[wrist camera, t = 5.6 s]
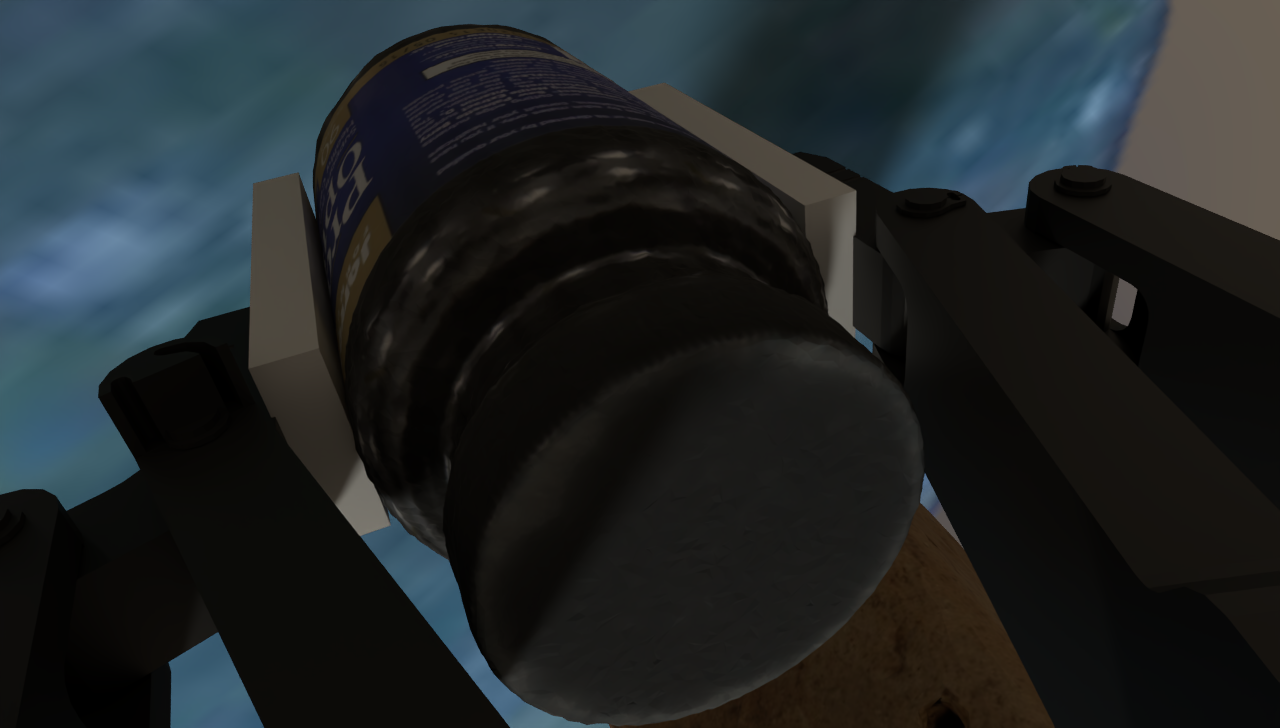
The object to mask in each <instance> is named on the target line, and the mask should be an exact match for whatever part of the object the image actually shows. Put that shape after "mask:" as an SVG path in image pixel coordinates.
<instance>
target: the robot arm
mask: <svg viewBox="0 0 1280 728" xmlns="http://www.w3.org/2000/svg"><path fill="white" fill-rule="evenodd" d="M629 93H631V94H632V95H634V96H635V97H637V98H638V99H640V100H642V101H643V102H645V103H646V104H648V105H649V106H651V107H652V108H653V109H655V110H656V111H658V112H659V113H661V114H662V115H664V116H665V117H667V118H668V119H670V120H671V121H673V122H674V123H676V124H677V125H679V126H680V127H682V128H683V129H685V130H687V131H689V132H690V133H691V134H692V135H694V136H695V137H697V138H698V139H700V140H702V141H703V142H705V143H706V144H708V145H709V146H710V147H712V148H714V149H715V150H717V151H718V152H720V153H721V154H723V155H725V156H726V157H728V158H730V159H732V160H734V161H736V162H738V163H739V164H741V165H742V166H744V167H745V168H747V169H749V170H750V171H751V172H752V173H753V175H754V176H755V177H756V178H757V179H758V180H759V181H760V182H762V183H763V184H764V185H766V186H767V187H769V188H770V189H771V190H772V192H773V193H774V194H775V195H776V196H778V197H779V198H780V200H781V201H782V203H783V204H784V205H785V206H786V207H787V209H788V210H789V211H790V212H791V214H792V216H793V217H794V219H795V221H796V223H797V224H798V225H799V227H800V228H801V230H802V231H803V233H804V234H805V236H806V238H807V240H808V241H809V242H810V243H811V247H812V250H813V255H814V257H815V259H816V260H817V262H818V264H819V268H820V273H821V276H822V278H823V281H824V283H825V287H824V289H825V296H826V300H827V303H828V314H829V316H830V317H832V318H833V319H834V320H836V321H837V322H838V323H840V324H841V325H842V326H843V327H844V328H845V329H846V330H847V331H848V332H849V333H850V334H851V335H852V336H853V337H854V338H855V328H856V329H857V330H858V331H860V332H861V333H862V334H863V335H865V336H866V337H867V338H868V339H870V340H871V341H872V342H873V353H872V354H873V355H874V356H876V357H877V358H878V359H880V360H881V361H882V362H883V363H884V364H885V366H886V367H887V368H888V369H889V370H890V371H891V372H892V373H893V374H894V376H895V377H896V378H897V379H898V380H899V381H900V383H901V384H902V386H903V388H904V389H905V391H906V392H907V393H908V395H909V397H910V399H911V401H912V403H913V406H914V409H915V411H916V414H917V417H918V420H919V423H920V428H921V432H922V436H923V440H924V444H923V447H924V451H925V453H924V462H925V468H924V472H925V474H926V476H927V478H928V480H929V481H930V483H931V485H932V487H933V489H934V491H935V493H936V495H937V497H938V499H939V501H940V503H941V505H942V507H943V509H944V511H945V512H946V515H947V517H948V519H949V521H950V522H951V525H952V527H953V529H954V530H955V532H956V534H957V536H958V538H959V540H960V542H961V544H962V546H963V548H964V550H965V552H966V554H967V556H968V558H969V560H970V562H971V564H972V566H973V568H974V570H975V572H976V574H977V576H978V577H979V579H980V581H981V583H982V585H983V587H984V589H985V591H986V593H987V595H988V597H989V599H990V601H991V603H992V605H993V607H994V609H995V611H996V613H997V615H998V617H999V619H1000V621H1001V623H1002V625H1003V626H1004V628H1005V630H1006V632H1007V634H1008V636H1009V638H1010V640H1011V642H1012V644H1013V646H1014V648H1015V650H1016V652H1017V654H1018V656H1019V658H1020V660H1021V662H1022V664H1023V666H1024V668H1025V670H1026V672H1027V674H1028V675H1029V677H1030V679H1031V681H1032V683H1033V685H1034V687H1035V689H1036V691H1037V693H1038V695H1039V697H1040V699H1041V701H1042V703H1043V705H1044V707H1045V709H1046V711H1047V713H1048V715H1049V717H1050V719H1051V721H1052V722H1053V724H1054V726H1055V728H1280V240H1277V239H1275V238H1272V237H1270V236H1268V235H1265V234H1263V233H1260V232H1258V231H1255V230H1253V229H1251V228H1248V227H1246V226H1244V225H1242V224H1239V223H1237V222H1234V221H1232V220H1229V219H1227V218H1225V217H1223V216H1220V215H1218V214H1215V213H1213V212H1211V211H1208V210H1206V209H1204V208H1201V207H1199V206H1197V205H1194V204H1192V203H1189V202H1187V201H1185V200H1182V199H1180V198H1177V197H1175V196H1173V195H1170V194H1168V193H1165V192H1163V191H1161V190H1158V189H1156V188H1154V187H1151V186H1149V185H1147V184H1144V183H1142V182H1140V181H1137V180H1135V179H1132V178H1130V177H1128V176H1125V175H1123V174H1119V173H1116V172H1113V171H1109V170H1104V169H1097V168H1093V167H1092V166H1088V165H1078V167H1076V165H1073V166H1064V167H1063V168H1061V169H1055V170H1049V171H1046V172H1044V173H1041V174H1039V175H1036V176H1035V177H1034V178H1033V179H1032V180H1031V181H1030V182H1029V187H1028V195H1027V203H1026V208H1022V209H1015V210H1007V211H999V212H991V213H986V212H985V211H984V210H983V209H982V208H981V207H980V206H979V205H978V204H977V203H976V202H975V201H974V200H973V199H971V198H969V197H968V196H966V195H964V194H963V193H960V192H958V191H952V190H948V189H938V188H917V189H908V190H904V191H899V192H895V193H893V192H891V191H889V190H887V189H885V188H883V187H881V186H880V185H878V184H876V183H874V182H872V181H870V180H868V179H866V178H865V177H862V178H861V177H860V175H859V174H857V173H855V172H853V171H851V170H850V169H847V170H846V169H845V167H844V166H842V165H840V164H838V163H836V162H835V161H833V160H831V159H829V158H827V157H822V156H818V155H813V154H808V153H803V152H798V153H794V154H790V153H789V152H787V151H785V150H783V149H782V148H780V147H778V146H776V145H774V144H773V143H771V142H769V141H767V140H766V139H764V138H762V137H760V136H758V135H757V134H755V133H753V132H751V131H750V130H748V129H746V128H744V127H742V126H741V125H739V124H737V123H735V122H734V121H732V120H730V119H728V118H726V117H725V116H723V115H721V114H719V113H718V112H716V111H714V110H712V109H710V108H709V107H707V106H705V105H703V104H702V103H700V102H698V101H696V100H694V99H693V98H691V97H689V96H687V95H686V94H684V93H682V92H680V91H678V90H677V89H675V88H673V87H671V86H670V85H668V84H666V83H662V84H657V85H653V86H649V87H645V88H641V89H637V90H633V91H629ZM1119 278H1121V279H1123V280H1125V281H1126V282H1128V283H1130V284H1132V285H1133V286H1134V287H1135V288H1137V289H1138V290H1137V295H1136V299H1135V304H1134V309H1133V313H1132V318H1131V320H1130V323H1129V325H1128V326H1125V325H1122V324H1120V323H1119V322H1117V321H1115V320H1114V319H1112V312H1113V308H1114V302H1115V298H1116V293H1117V288H1118V283H1119ZM98 398H99V399H100V401H101V403H102V404H103V406H104V408H105V409H106V411H107V413H108V414H109V416H110V418H111V419H112V421H113V423H114V424H115V426H116V428H117V429H118V431H119V433H120V434H121V436H122V438H123V439H124V441H125V443H126V444H127V446H128V448H129V449H130V451H131V453H132V454H133V456H134V458H135V460H136V462H137V464H138V466H139V468H140V470H139V471H138V472H136V473H135V474H134V475H132V476H131V477H129V478H128V479H127V480H125V481H124V482H122V483H120V484H118V485H117V486H115V487H113V488H111V489H110V490H108V491H106V492H104V493H102V494H100V495H98V496H96V497H94V498H92V499H90V500H88V501H86V502H84V503H82V504H80V505H78V506H76V507H74V508H72V509H70V510H67V511H66V510H65V509H64V507H63V506H62V504H61V503H60V501H59V500H58V499H57V497H56V496H55V495H53V494H51V493H49V492H47V491H45V490H43V489H22V490H18V491H14V492H9V493H5V494H1V495H0V728H170V717H171V670H170V666H169V663H168V662H169V661H171V660H172V659H174V658H176V657H177V656H179V655H181V654H182V653H184V652H186V651H187V650H189V649H191V648H192V647H194V646H196V645H197V644H199V643H201V642H202V641H204V640H205V639H207V638H209V637H210V636H212V635H214V634H215V633H217V632H219V634H220V636H221V639H222V641H223V643H224V645H225V647H226V649H227V651H228V653H229V655H230V657H231V659H232V661H233V664H234V666H235V668H236V670H237V672H238V674H239V676H240V678H241V680H242V682H243V684H244V686H245V689H246V691H247V693H248V695H249V697H250V699H251V701H252V703H253V705H254V707H255V709H256V711H257V714H258V716H259V718H260V720H261V722H262V724H263V726H264V728H510V727H509V726H508V724H507V723H506V722H505V720H504V719H503V718H502V717H501V715H500V714H499V713H498V711H497V710H496V709H495V708H494V706H493V705H492V704H491V703H490V701H489V700H488V699H487V697H486V696H485V695H484V694H483V692H482V691H481V690H480V689H479V687H478V686H477V685H476V683H475V682H474V681H473V680H472V678H471V677H470V676H469V675H468V673H467V672H466V671H465V669H464V668H463V667H462V666H461V664H460V663H459V662H458V660H457V659H456V658H455V657H454V655H453V654H452V653H451V652H450V650H449V649H448V648H447V646H446V645H445V644H444V643H443V641H442V640H441V639H440V638H439V636H438V635H437V634H436V632H435V631H434V630H433V629H432V627H431V626H430V625H429V624H428V622H427V621H426V620H425V618H424V617H423V616H422V615H421V613H420V612H419V611H418V610H417V608H416V607H415V606H414V604H413V603H412V602H411V601H410V599H409V598H408V597H407V595H406V594H405V593H404V592H403V590H402V589H401V588H400V587H399V585H398V584H397V583H396V581H395V580H394V579H393V578H392V576H391V575H390V574H389V573H388V571H387V570H386V569H385V567H384V566H383V565H382V564H381V562H380V561H379V560H378V559H377V557H376V556H375V555H374V553H373V552H372V551H371V550H370V548H369V547H368V546H367V544H366V543H365V542H364V541H363V539H362V538H361V537H360V536H361V535H364V534H367V533H370V532H373V531H376V530H379V529H381V528H384V527H387V526H390V520H389V514H388V509H387V507H386V506H384V505H383V504H382V502H381V499H380V497H379V495H378V493H377V491H376V489H375V487H374V484H373V483H372V482H371V481H370V480H369V479H368V477H367V475H366V471H365V468H364V464H363V462H362V460H361V459H360V457H359V455H358V453H357V451H356V449H355V441H354V436H353V431H352V427H351V423H350V420H349V414H348V407H347V404H346V402H345V398H346V392H345V386H344V380H343V374H342V370H341V363H340V357H339V351H338V345H337V339H336V333H335V327H334V322H333V317H332V310H331V303H330V297H329V291H328V285H327V279H326V274H325V269H324V261H323V254H322V248H321V242H320V236H319V231H318V226H317V221H316V219H315V216H314V213H313V210H312V208H311V205H310V202H309V200H308V197H307V194H306V192H305V189H304V186H303V183H302V181H301V178H300V175H299V173H294V174H290V175H286V176H282V177H278V178H274V179H270V180H266V181H262V182H258V183H253V214H252V252H251V291H250V307H247V308H243V309H240V310H236V311H233V312H229V313H225V314H222V315H218V316H215V317H211V318H207V319H204V320H200V321H198V322H197V324H196V325H195V326H194V327H193V328H192V329H191V331H190V332H189V333H188V334H187V335H186V336H185V337H184V338H180V339H175V340H172V341H168V342H165V343H162V344H159V345H156V346H153V347H150V348H148V349H146V350H144V351H142V352H140V353H138V354H136V355H134V356H132V357H130V358H128V359H127V360H125V361H124V362H123V363H121V364H120V365H119V366H117V367H116V368H114V369H113V370H112V371H110V372H109V373H108V375H107V376H106V377H105V379H104V380H103V381H102V382H101V384H100V385H99V394H98Z"/></svg>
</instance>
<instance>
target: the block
mask: <svg viewBox="0 0 1280 728" xmlns="http://www.w3.org/2000/svg"><path fill="white" fill-rule="evenodd" d="M609 726H610V728H1055V726H1054V724H1053V722H1052V721H1051V719H1050V717H1049V715H1048V713H1047V711H1046V709H1045V707H1044V705H1043V703H1042V701H1041V699H1040V697H1039V695H1038V693H1037V691H1036V689H1035V687H1034V685H1033V683H1032V681H1031V679H1030V677H1029V675H1028V674H1027V672H1026V670H1025V668H1024V666H1023V664H1022V662H1021V660H1020V658H1019V656H1018V654H1017V652H1016V650H1015V648H1014V646H1013V644H1012V642H1011V640H1010V638H1009V636H1008V634H1007V632H1006V630H1005V628H1004V626H1003V625H1002V623H1001V621H1000V619H999V617H998V615H997V613H996V611H995V609H994V607H993V605H992V603H991V601H990V599H989V597H988V595H987V593H986V591H985V589H984V587H983V585H982V583H981V581H980V579H979V577H978V576H977V574H976V572H975V570H974V568H973V566H972V564H971V562H970V560H969V558H968V556H967V554H966V552H965V550H964V549H963V548H962V547H961V545H960V544H959V543H958V542H957V541H956V540H955V539H954V538H953V537H952V536H951V535H950V533H949V532H948V531H947V530H946V529H945V528H944V527H943V526H942V525H941V524H940V523H939V522H938V521H937V520H936V518H935V517H934V516H933V515H932V514H931V513H930V512H929V511H928V510H927V509H926V508H925V507H924V506H923V505H922V504H921V503H920V505H919V506H918V508H917V510H916V512H915V514H914V516H913V519H912V523H911V526H910V529H909V532H908V535H907V537H906V539H905V541H904V543H903V546H902V548H901V550H900V552H899V554H898V555H897V557H896V558H895V560H894V562H893V564H892V566H891V567H890V569H889V570H888V572H887V573H886V574H885V576H884V577H883V578H882V580H881V581H880V583H879V584H878V586H877V587H876V589H875V591H874V592H873V593H872V595H871V596H870V597H869V598H868V599H867V600H866V601H865V602H864V604H863V605H862V606H861V607H860V608H859V609H858V610H857V611H856V612H855V613H854V614H853V616H852V617H851V618H850V619H849V621H848V622H847V623H846V624H845V625H844V626H842V627H841V628H840V629H839V630H838V631H837V632H836V633H835V634H834V635H833V636H832V637H831V638H829V639H828V640H827V641H826V642H825V643H824V644H822V645H821V646H820V647H819V648H817V649H816V650H815V651H813V652H812V653H811V654H809V655H808V656H807V657H806V658H804V659H803V660H802V661H800V662H799V663H798V664H797V665H795V666H793V667H792V668H790V669H789V670H787V671H786V672H784V673H783V674H781V675H780V676H778V677H777V678H775V679H773V680H771V681H769V682H767V683H766V684H764V685H762V686H760V687H759V688H757V689H755V690H753V691H751V692H749V693H746V694H744V695H743V696H741V697H740V698H737V699H734V700H731V701H729V702H727V703H725V704H723V705H721V706H719V707H716V708H714V709H707V710H705V711H702V712H700V713H696V714H691V715H688V716H686V717H683V718H680V719H677V720H669V721H664V722H660V723H653V724H644V725H639V726H635V725H623V726H615V725H611V724H609Z"/></svg>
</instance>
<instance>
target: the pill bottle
mask: <svg viewBox="0 0 1280 728" xmlns="http://www.w3.org/2000/svg"><path fill="white" fill-rule="evenodd" d="M313 192H314V202H315V212H316V221H317V226H318V231H319V236H320V242H321V248H322V254H323V261H324V269H325V274H326V279H327V285H328V291H329V297H330V303H331V310H332V317H333V322H334V327H335V333H336V339H337V345H338V351H339V357H340V363H341V370H342V374H343V380H344V386H345V392H346V398H345V402H346V404H347V407H348V414H349V420H350V423H351V427H352V431H353V436H354V441H355V449H356V451H357V453H358V455H359V457H360V459H361V460H362V462H363V464H364V468H365V471H366V475H367V477H368V479H369V480H370V481H371V482H372V483H373V484H374V487H375V489H376V491H377V493H378V495H379V497H380V499H381V502H382V504H383V505H384V506H386V507H387V509H388V510H389V512H390V513H391V515H392V516H394V517H395V518H397V520H398V521H399V522H400V523H401V524H402V526H403V527H404V528H405V530H406V531H407V532H408V533H409V534H410V535H413V536H415V537H416V538H417V539H418V540H419V541H420V542H421V543H423V544H425V545H426V546H428V547H429V548H431V549H432V550H433V551H435V552H436V553H438V554H440V555H441V556H443V557H444V558H446V559H448V560H449V562H450V565H451V567H452V570H453V573H454V576H455V578H456V581H457V583H458V586H459V589H460V593H461V597H462V602H463V605H464V609H465V612H466V616H467V620H468V623H469V627H470V630H471V632H472V634H473V637H474V639H475V641H476V643H477V646H478V648H479V650H480V652H481V654H482V655H483V656H484V658H485V659H486V661H487V663H488V665H489V667H490V669H491V670H492V672H493V673H494V675H495V676H496V677H497V678H498V679H499V680H500V681H501V682H502V683H503V684H504V685H505V686H506V687H507V688H508V689H509V690H510V691H511V692H513V693H515V694H516V695H517V696H518V697H520V698H521V699H522V700H523V701H524V702H526V703H528V704H530V705H532V706H534V707H536V708H538V709H540V710H542V711H544V712H547V713H549V714H551V715H553V716H559V717H563V718H565V719H566V720H568V721H573V722H580V723H583V724H586V725H590V724H595V723H608V724H611V725H615V726H623V725H635V726H639V725H644V724H653V723H660V722H664V721H669V720H677V719H680V718H683V717H686V716H688V715H691V714H696V713H700V712H702V711H705V710H707V709H714V708H716V707H719V706H721V705H723V704H725V703H727V702H729V701H731V700H734V699H737V698H740V697H741V696H743V695H744V694H746V693H749V692H751V691H753V690H755V689H757V688H759V687H760V686H762V685H764V684H766V683H767V682H769V681H771V680H773V679H775V678H777V677H778V676H780V675H781V674H783V673H784V672H786V671H787V670H789V669H790V668H792V667H793V666H795V665H797V664H798V663H799V662H800V661H802V660H803V659H804V658H806V657H807V656H808V655H809V654H811V653H812V652H813V651H815V650H816V649H817V648H819V647H820V646H821V645H822V644H824V643H825V642H826V641H827V640H828V639H829V638H831V637H832V636H833V635H834V634H835V633H836V632H837V631H838V630H839V629H840V628H841V627H842V626H844V625H845V624H846V623H847V622H848V621H849V619H850V618H851V617H852V616H853V614H854V613H855V612H856V611H857V610H858V609H859V608H860V607H861V606H862V605H863V604H864V602H865V601H866V600H867V599H868V598H869V597H870V596H871V595H872V593H873V592H874V591H875V589H876V587H877V586H878V584H879V583H880V581H881V580H882V578H883V577H884V576H885V574H886V573H887V572H888V570H889V569H890V567H891V566H892V564H893V562H894V560H895V558H896V557H897V555H898V554H899V552H900V550H901V548H902V546H903V543H904V541H905V539H906V537H907V535H908V532H909V529H910V526H911V523H912V519H913V516H914V514H915V512H916V510H917V508H918V506H919V505H920V495H921V492H922V484H923V481H924V479H923V478H924V474H925V472H924V468H925V462H924V453H925V451H924V447H923V444H924V440H923V436H922V432H921V428H920V423H919V420H918V417H917V414H916V411H915V409H914V406H913V403H912V401H911V399H910V397H909V395H908V393H907V392H906V391H905V389H904V388H903V386H902V384H901V383H900V381H899V380H898V379H897V378H896V377H895V376H894V374H893V373H892V372H891V371H890V370H889V369H888V368H887V367H886V366H885V364H884V363H883V362H882V361H881V360H880V359H878V358H877V357H876V356H874V355H873V354H872V353H871V352H870V351H869V350H868V349H867V348H866V347H865V346H864V345H862V344H861V343H860V342H858V341H857V340H856V339H855V338H854V337H853V336H852V335H851V334H850V333H849V332H848V331H847V330H846V329H845V328H844V327H843V326H842V325H841V324H840V323H838V322H837V321H836V320H834V319H833V318H832V317H830V316H829V314H828V303H827V300H826V296H825V289H824V287H825V283H824V281H823V278H822V276H821V273H820V268H819V264H818V262H817V260H816V259H815V257H814V255H813V250H812V247H811V243H810V242H809V241H808V240H807V238H806V236H805V234H804V233H803V231H802V230H801V228H800V227H799V225H798V224H797V223H796V221H795V219H794V217H793V216H792V214H791V212H790V211H789V210H788V209H787V207H786V206H785V205H784V204H783V203H782V201H781V200H780V198H779V197H778V196H776V195H775V194H774V193H773V192H772V190H771V189H770V188H769V187H767V186H766V185H764V184H763V183H762V182H760V181H759V180H758V179H757V178H756V177H755V176H754V175H753V173H752V172H751V171H750V170H749V169H747V168H745V167H744V166H742V165H741V164H739V163H738V162H736V161H734V160H732V159H730V158H728V157H726V156H725V155H723V154H721V153H720V152H718V151H717V150H715V149H714V148H712V147H710V146H709V145H708V144H706V143H705V142H703V141H702V140H700V139H698V138H697V137H695V136H694V135H692V134H691V133H690V132H689V131H687V130H685V129H683V128H682V127H680V126H679V125H677V124H676V123H674V122H673V121H671V120H670V119H668V118H667V117H665V116H664V115H662V114H661V113H659V112H658V111H656V110H655V109H653V108H652V107H651V106H649V105H648V104H646V103H645V102H643V101H642V100H640V99H638V98H637V97H635V96H634V95H632V94H631V93H629V92H628V91H626V90H625V89H623V88H622V87H620V86H619V85H617V84H616V83H614V82H613V81H612V80H610V79H609V78H607V77H605V76H604V75H602V74H600V73H599V72H597V71H596V70H594V69H592V68H591V67H589V66H588V65H586V64H585V63H583V62H582V61H580V60H579V59H577V58H575V57H574V56H572V55H571V54H569V53H567V52H566V51H564V50H563V49H561V48H560V47H558V46H556V45H555V44H553V43H552V42H550V41H549V40H547V39H545V38H543V37H541V36H538V35H534V34H531V33H528V32H525V31H522V30H519V29H516V28H513V27H508V26H501V25H475V24H465V25H454V26H444V27H439V28H434V29H431V30H428V31H425V32H422V33H420V34H417V35H414V36H411V37H408V38H406V39H403V40H402V41H400V42H398V43H396V44H394V45H393V46H391V47H389V48H388V49H386V50H384V51H383V52H381V53H379V54H377V55H376V56H375V57H374V58H373V59H372V60H371V61H370V62H369V63H367V64H366V65H365V66H364V68H363V69H362V70H361V71H360V73H359V74H358V75H357V76H356V77H355V79H354V80H353V81H352V82H351V83H350V85H349V86H348V88H347V89H346V91H345V92H344V94H343V95H342V97H341V98H340V100H339V101H338V102H337V104H336V105H335V107H334V108H333V109H332V111H331V112H330V113H329V115H328V116H327V118H326V120H325V122H324V124H323V126H322V128H321V131H320V134H319V136H318V139H317V143H316V154H315V163H314V169H313Z"/></svg>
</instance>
